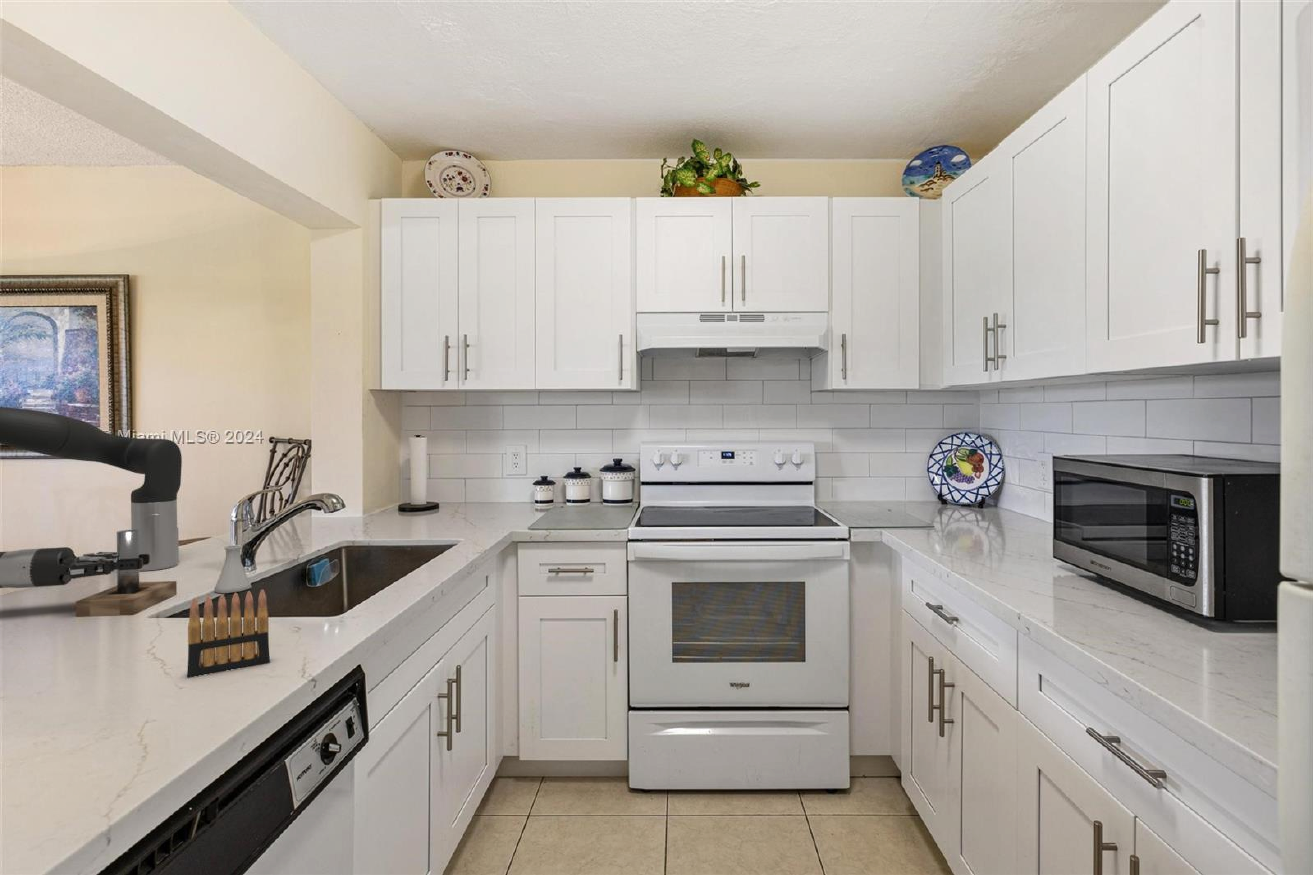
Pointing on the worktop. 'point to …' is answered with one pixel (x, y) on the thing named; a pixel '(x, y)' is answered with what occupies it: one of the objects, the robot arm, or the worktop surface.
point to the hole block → (126, 600)
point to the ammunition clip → (227, 636)
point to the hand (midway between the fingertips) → (145, 561)
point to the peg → (126, 550)
